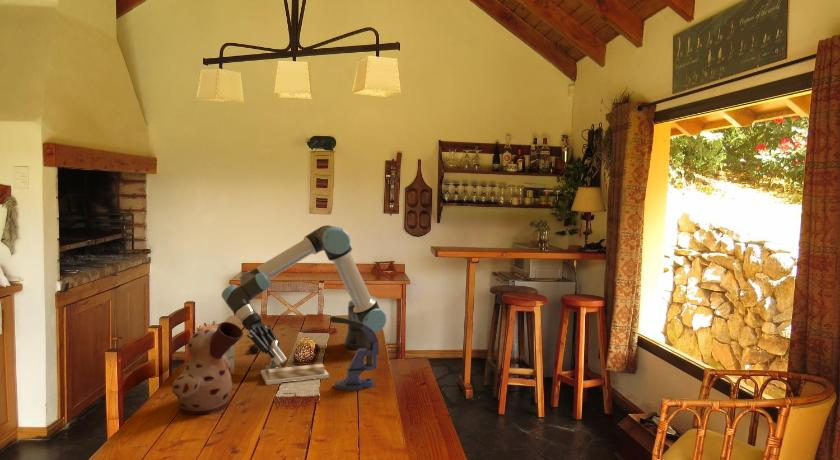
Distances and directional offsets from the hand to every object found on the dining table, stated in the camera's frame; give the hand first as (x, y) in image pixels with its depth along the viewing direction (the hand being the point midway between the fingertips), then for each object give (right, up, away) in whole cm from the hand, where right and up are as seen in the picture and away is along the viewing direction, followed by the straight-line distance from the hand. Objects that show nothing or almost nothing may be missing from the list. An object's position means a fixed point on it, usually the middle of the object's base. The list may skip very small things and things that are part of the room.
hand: (282, 361), depth 233 cm
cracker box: (-27, -6, -1) cm, 27 cm away
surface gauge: (-3, -5, +1) cm, 6 cm away
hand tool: (-22, -3, +40) cm, 46 cm away
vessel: (-17, -8, -33) cm, 38 cm away
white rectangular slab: (+5, -6, +2) cm, 8 cm away
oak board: (+6, -5, -2) cm, 8 cm away
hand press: (+30, -8, -9) cm, 32 cm away
